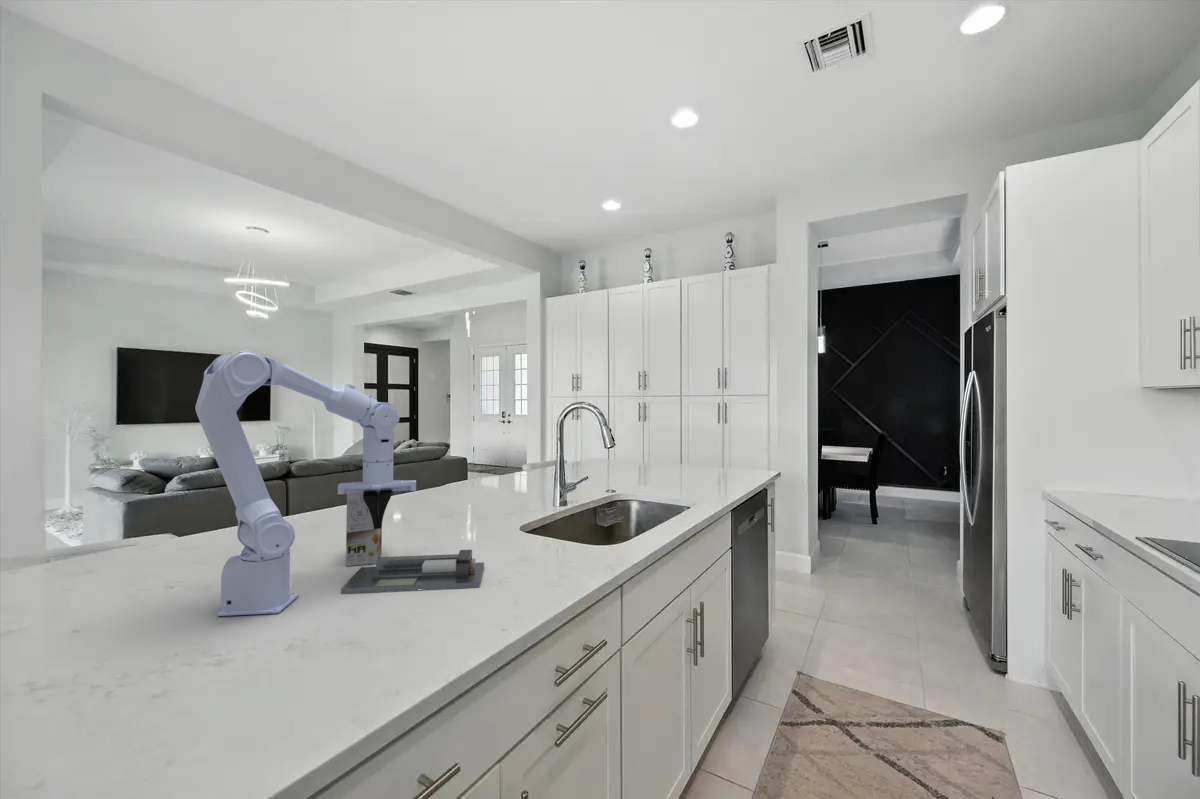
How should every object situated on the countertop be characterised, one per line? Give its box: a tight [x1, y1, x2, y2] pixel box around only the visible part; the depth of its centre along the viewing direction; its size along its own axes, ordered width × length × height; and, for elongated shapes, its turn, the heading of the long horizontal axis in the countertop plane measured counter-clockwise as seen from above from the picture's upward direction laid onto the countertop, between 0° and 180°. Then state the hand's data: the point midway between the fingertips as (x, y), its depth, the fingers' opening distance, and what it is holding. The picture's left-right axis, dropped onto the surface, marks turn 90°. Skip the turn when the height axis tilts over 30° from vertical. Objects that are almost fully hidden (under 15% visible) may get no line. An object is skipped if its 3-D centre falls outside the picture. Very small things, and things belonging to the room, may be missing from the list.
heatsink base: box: [340, 549, 485, 595], centre depth 102 cm, size 25×12×5 cm, turn 98°
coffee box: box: [345, 489, 383, 567], centre depth 114 cm, size 9×6×16 cm
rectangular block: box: [422, 558, 476, 574], centre depth 103 cm, size 10×3×2 cm, turn 98°
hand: (377, 527), depth 103 cm, fingers closed
